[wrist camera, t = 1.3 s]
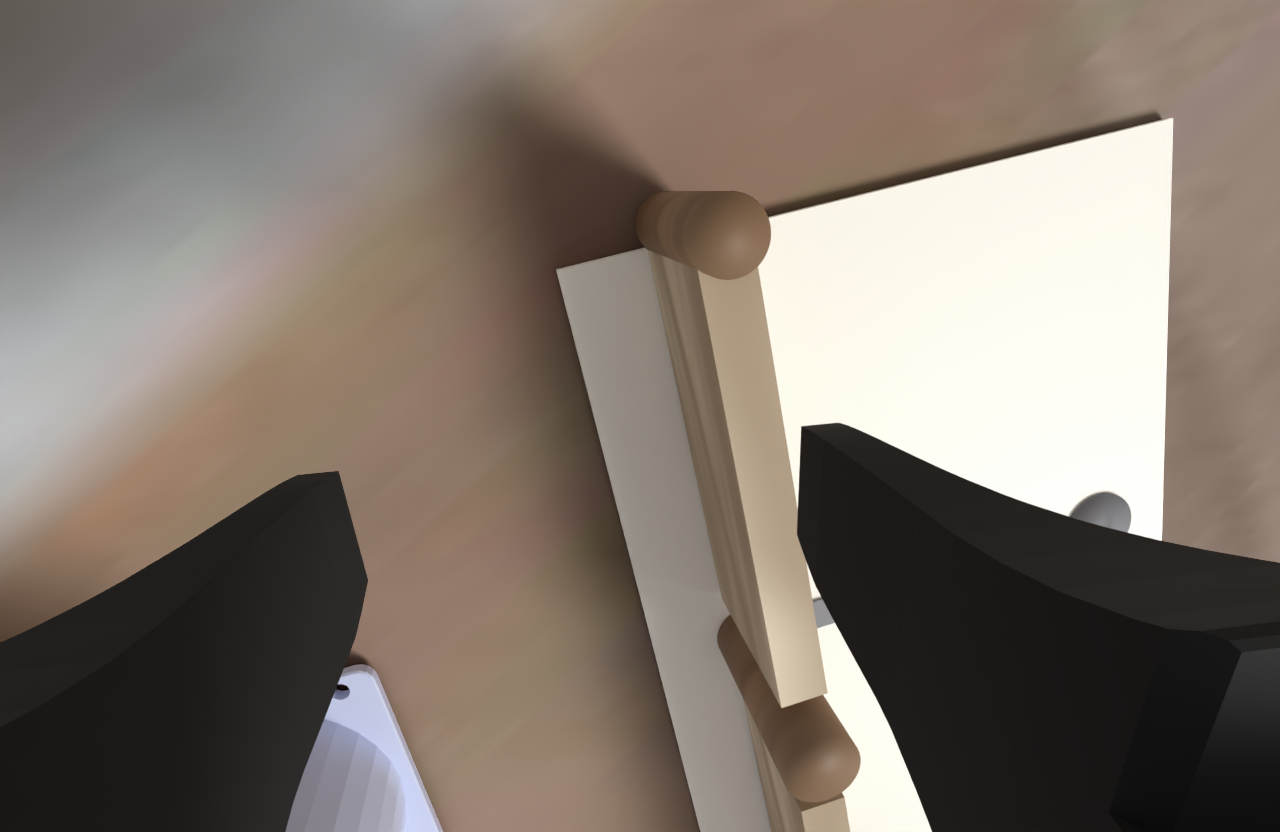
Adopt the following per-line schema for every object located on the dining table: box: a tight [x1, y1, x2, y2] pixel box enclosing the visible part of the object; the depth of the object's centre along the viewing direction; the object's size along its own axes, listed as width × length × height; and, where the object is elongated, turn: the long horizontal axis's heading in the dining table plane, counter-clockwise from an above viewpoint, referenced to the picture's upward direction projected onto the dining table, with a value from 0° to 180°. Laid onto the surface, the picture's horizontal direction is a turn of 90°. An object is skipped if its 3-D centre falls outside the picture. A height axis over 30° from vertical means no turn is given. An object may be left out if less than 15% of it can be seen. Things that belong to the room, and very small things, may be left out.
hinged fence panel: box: [635, 191, 828, 708], centre depth 18 cm, size 2×12×6 cm, turn 12°
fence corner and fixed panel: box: [717, 615, 861, 832], centre depth 22 cm, size 2×13×6 cm, turn 13°
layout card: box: [556, 118, 1173, 832], centre depth 24 cm, size 18×25×1 cm
